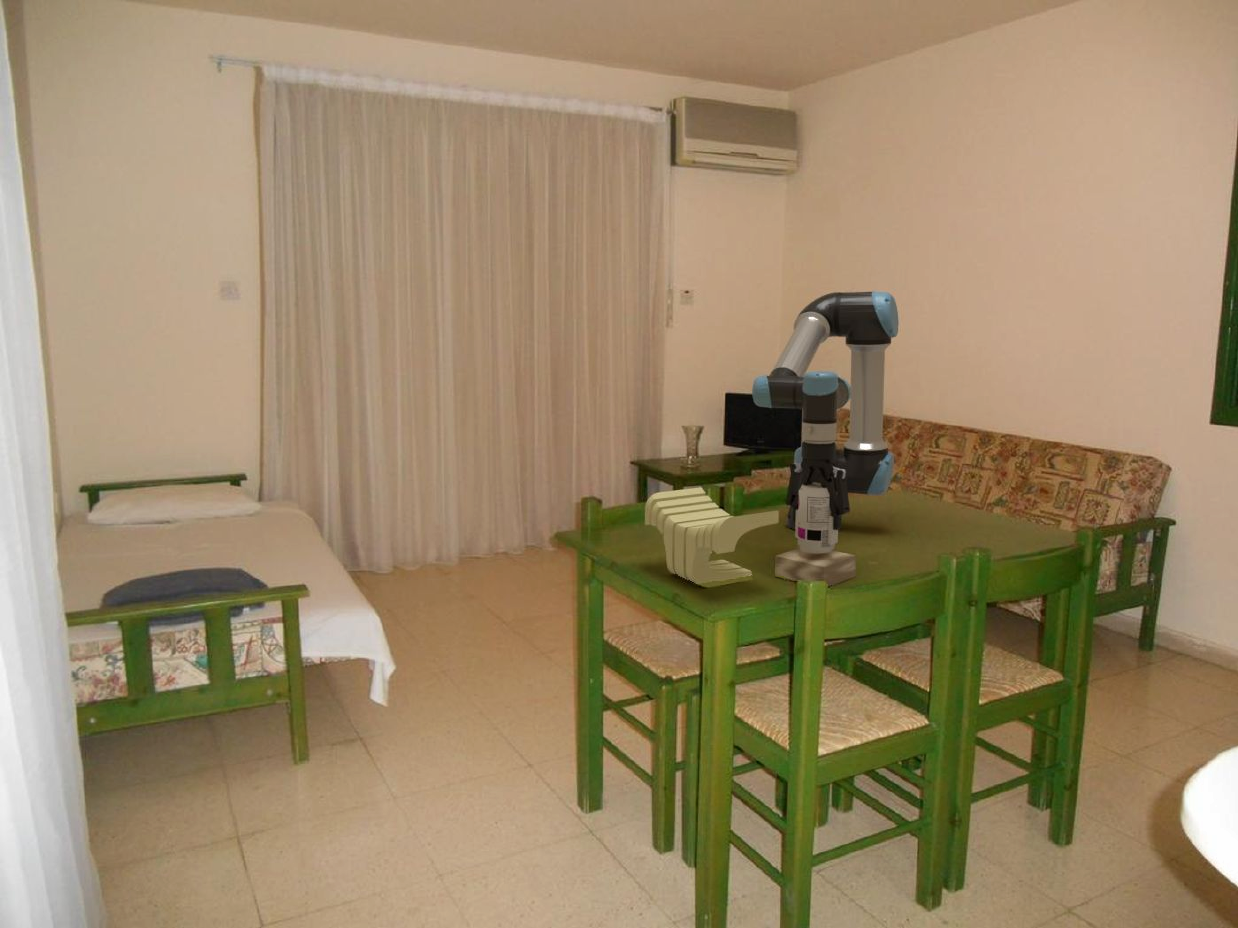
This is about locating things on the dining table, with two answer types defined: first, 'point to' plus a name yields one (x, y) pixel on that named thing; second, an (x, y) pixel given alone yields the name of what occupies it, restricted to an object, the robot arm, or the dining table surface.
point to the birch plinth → (816, 566)
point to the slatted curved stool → (700, 533)
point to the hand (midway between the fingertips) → (816, 539)
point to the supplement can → (814, 519)
